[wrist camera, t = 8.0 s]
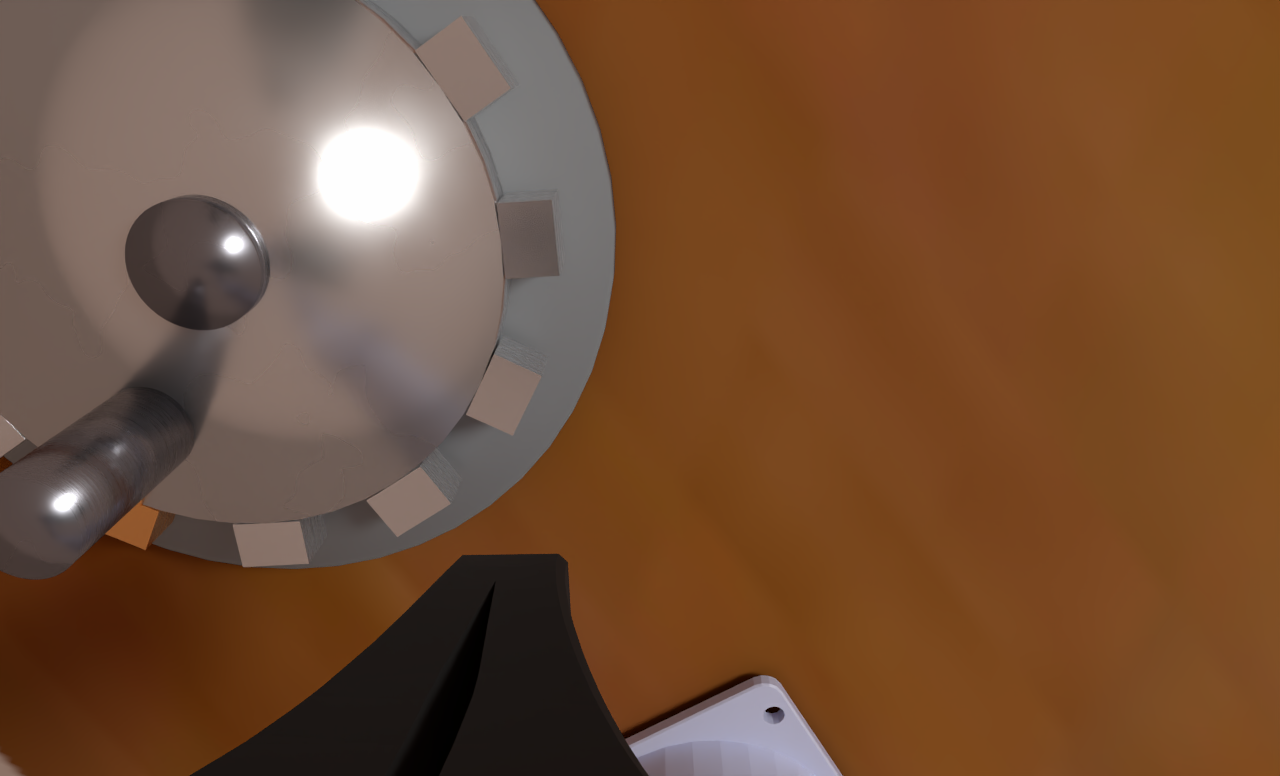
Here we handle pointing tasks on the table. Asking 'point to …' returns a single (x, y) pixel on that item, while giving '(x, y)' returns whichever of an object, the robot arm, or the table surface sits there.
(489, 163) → the sprocket
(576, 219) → the sprocket base
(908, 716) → the table surface
